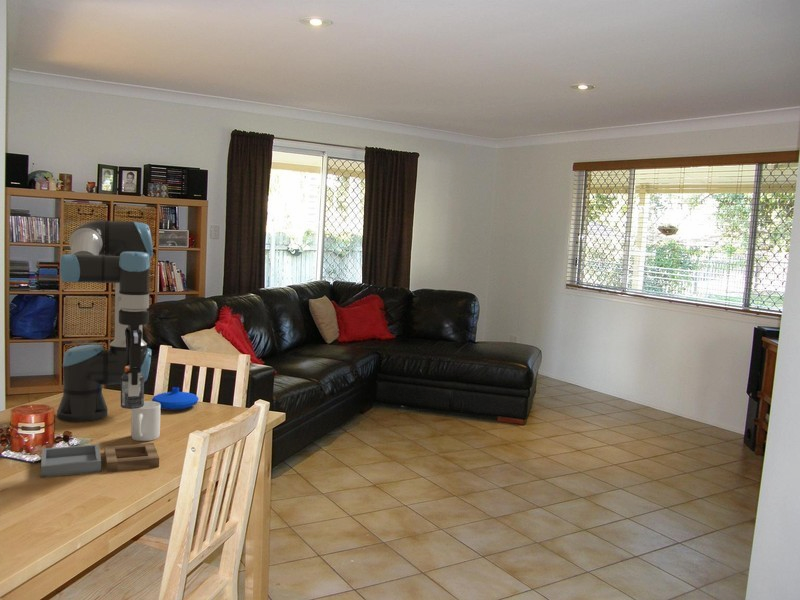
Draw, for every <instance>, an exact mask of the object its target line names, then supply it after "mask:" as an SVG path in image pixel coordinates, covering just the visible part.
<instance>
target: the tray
mask: <svg viewBox="0 0 800 600" xmlns="http://www.w3.org/2000/svg"><path fill="white" fill-rule="evenodd" d="M100 452H101V451H100V444H99V443H96V444H84V445H83V444H82V445H73V446H62V447H61V446H59V447H46V448H42V449H41V461H40V464H41V465H40V478H41V479H43V478H54V477H65V476H75V475H84V474H85V475H86V474H94V473H102V457H101V453H100Z"/></svg>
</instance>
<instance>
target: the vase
mask: <svg viewBox="0 0 800 600" xmlns="http://www.w3.org/2000/svg"><path fill="white" fill-rule="evenodd" d="M171 389H172V391H168V392H162V393H159V394H155V395H154V396H153V397H152V399H151V401H154V402H158V403H160V404H161V408H160V409H163V410H171V411H175V410H176V411H177V410H185V409H189V408H191V407H193V406H195V405H197V404H198V401H199V397H198V396H197V394H194V393H191V392H187V391H186V392H185V391H180V387H179V386H178V387H177V386H175V387H172V388H171Z"/></svg>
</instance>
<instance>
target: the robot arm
mask: <svg viewBox="0 0 800 600" xmlns="http://www.w3.org/2000/svg"><path fill="white" fill-rule="evenodd" d="M68 245H69V249H70V254H69V253H68V254H62V255H61V256H60V260H59V277H60V280H61V281H62V282H69V283H73V284H75V283H102V284H103V283H104V284H105V283H107V284H108V283H109V284H110V283H111V284H115V291H114V292H115V297H114V299H115V300H114V302H115V303H114V305H115V307H114V310H115V311H114V340H113V339H112V341H111V342H110V343H109V349H108V348H107V349H104V347H103V345H102V344H93V343H92V344H87V345H86V344H85V345H79V346H78V345H77V346H74V347H71V348H69V349H66V351H65V352H64V354H63V363H62V367H63V378H62V379H63V381H62V382H63V384H62V385H63V386H62V387H63V388H62V389H63V391H62V396H61V399H60V401H59V402H60V403H59V405H58V408H57V410H56V417H57V419H58V420H59V421H62V422H64V423H65V422H66V423H87V422H94V421H99V420H102V419H104V418H106V417H108V414H109V413H108V405H107V403H106V399H105V397H104V394H103V385H105V386H106V385H121V376H122V375H123V374H124V373H125V366H129V367H130V370H129V371H127V373H129V381H128V397H132V396H139V383H140V373H142V374H143V375H144V383H145V382H146V381H147V380H148V377H149V374H150V373H149V372H150V367H151V361H152V349H151V348H149V347H148V343H147V342H146V341H145V340H144V339H143V326H144V325H147V324H149V317H150V316H149V313H150V312H149V310H148V309H149V308H150V290H149V289H150V268H151V263H150V259H152V258H153V257H154V253H153V252H154V251H153V248H154V247H153V239H152V233H151V229H150V226H149V224H147V223H144V222H137V221H116V220H101V219H100V220H93V221H89V222H86V223H83V224H82V225H79V226H78V227H76V228H75V229H74V230H73V231H72V232H71V233H70V236H69V240H68ZM134 367H137V368H134Z"/></svg>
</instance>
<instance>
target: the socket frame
mask: <svg viewBox="0 0 800 600" xmlns="http://www.w3.org/2000/svg"><path fill="white" fill-rule="evenodd" d="M104 461H105V467H106V472H107V473H111V472H119V471H120V472H121V471H130V470H132V471H133V470H141V469H152V468H159V467H160V456H159V453H158V451H157V449H156V446H155V443H154V442H147V443H137V444H124V445H113V446H104Z"/></svg>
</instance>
